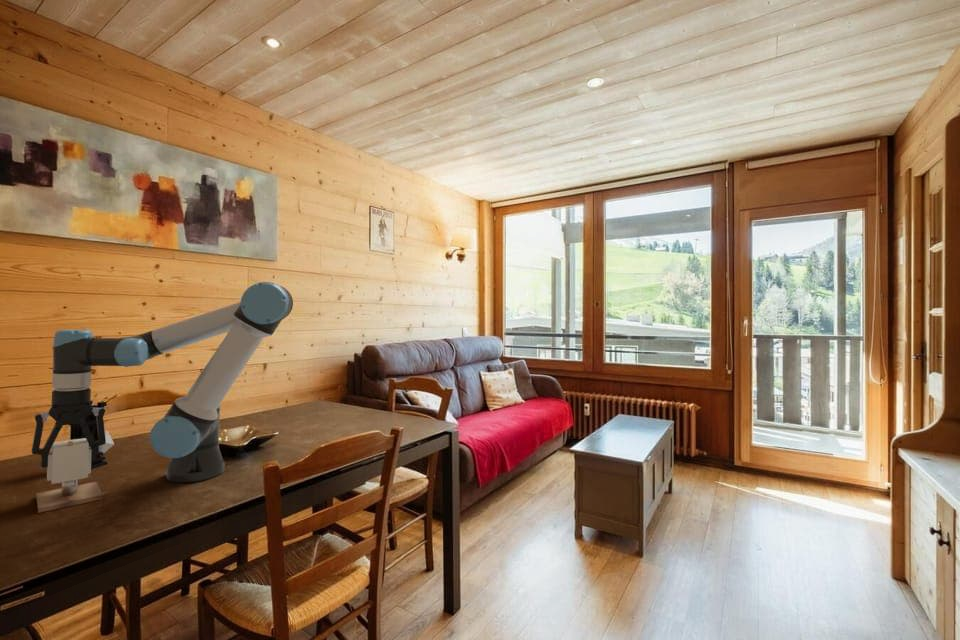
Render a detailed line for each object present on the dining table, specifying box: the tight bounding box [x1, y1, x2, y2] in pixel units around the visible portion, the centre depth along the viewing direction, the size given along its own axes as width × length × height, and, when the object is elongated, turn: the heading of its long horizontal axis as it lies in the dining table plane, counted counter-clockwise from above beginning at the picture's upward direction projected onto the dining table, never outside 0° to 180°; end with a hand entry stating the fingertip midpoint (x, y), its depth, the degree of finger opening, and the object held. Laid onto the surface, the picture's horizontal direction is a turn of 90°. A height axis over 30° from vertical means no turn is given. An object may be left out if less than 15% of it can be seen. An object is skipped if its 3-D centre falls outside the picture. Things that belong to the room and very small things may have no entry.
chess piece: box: [67, 400, 108, 470], centre depth 139 cm, size 8×8×20 cm
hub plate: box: [35, 481, 103, 514], centre depth 116 cm, size 12×12×1 cm
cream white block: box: [50, 438, 89, 485], centre depth 117 cm, size 7×7×10 cm
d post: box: [61, 479, 79, 496], centre depth 116 cm, size 3×3×5 cm
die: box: [99, 429, 115, 455], centre depth 150 cm, size 8×9×10 cm
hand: (69, 475), depth 116 cm, fingers closed on cream white block, 7 cm apart
